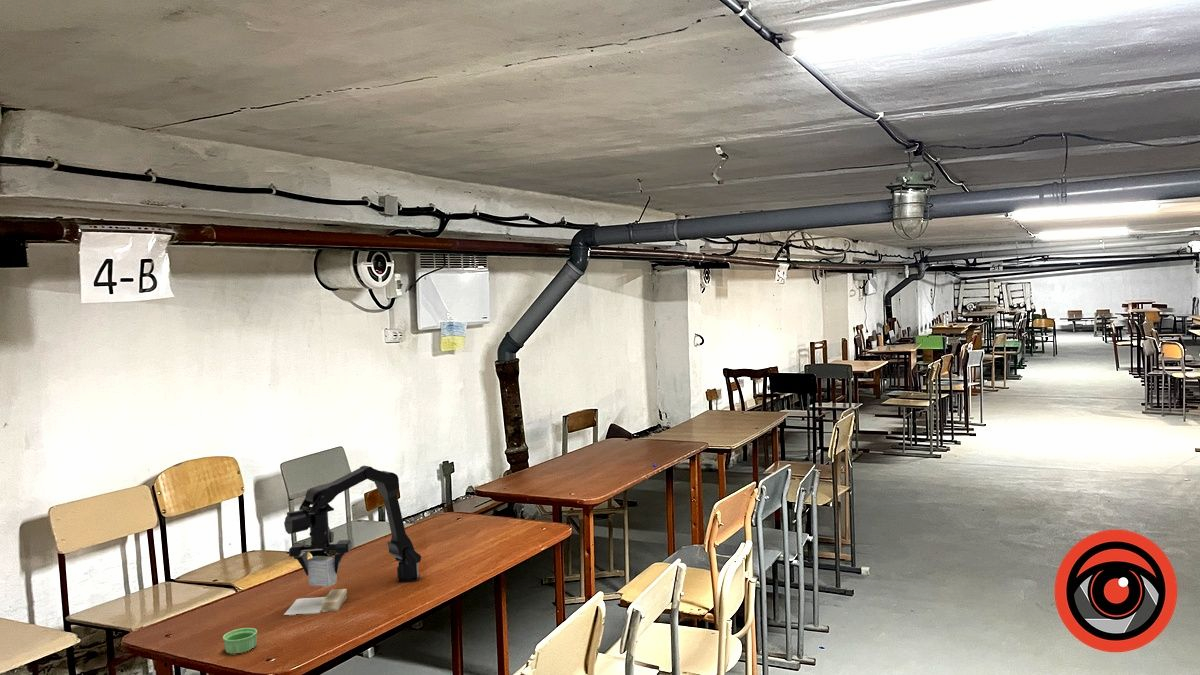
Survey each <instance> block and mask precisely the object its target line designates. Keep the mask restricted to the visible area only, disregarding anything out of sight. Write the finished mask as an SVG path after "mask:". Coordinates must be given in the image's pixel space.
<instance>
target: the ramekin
mask: <svg viewBox="0 0 1200 675" xmlns="http://www.w3.org/2000/svg"><path fill="white" fill-rule="evenodd" d="M257 635H258V630H257V628H254V627H242V628H237V629H233V630H231V631H230V630H229V631H228V632H226V633H225V634H224V635H223V636H222V640H223V643H224V644H223V645H224V649H225V650H224V651H225V652H226V653H227V654H228V653H231V654H230V655H233V654H232V653H241V652H245V651H248V650H250V649H252V648H254V647H255V646H257ZM255 648H256V647H255ZM255 648H254V649H255ZM252 650H253V649H252ZM248 652H249V651H248ZM245 653H246V652H245ZM241 654H242V653H241Z"/></svg>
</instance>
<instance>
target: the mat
mask: <svg viewBox="0 0 1200 675" xmlns="http://www.w3.org/2000/svg"><path fill="white" fill-rule="evenodd" d="M325 597H326V596H319V597H307V598H296V599H295V601H294V602H293V604H291V606H290V607H289V608H288V609H287V610H286V612H284V613H283V616H284V615H289V616H297V615H296V614H303V615H312V614H313V615H314V614H320V613H321V612H322V601H323V600H324V599H325Z"/></svg>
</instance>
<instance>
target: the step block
mask: <svg viewBox="0 0 1200 675" xmlns="http://www.w3.org/2000/svg"><path fill="white" fill-rule="evenodd" d="M347 590H348V589H347V588H335V589H330V590H329V592H328V593H327V595H326V596H324V597H325V599H324V600H323V601H322V611H321V612H322V613H325V612H326V613H327V612H328V611H329V612H338V611H339V610H340V608H341V607H342V606H343V605H344V602H346V600H347V598H348V592H347Z"/></svg>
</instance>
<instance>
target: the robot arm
mask: <svg viewBox="0 0 1200 675" xmlns="http://www.w3.org/2000/svg"><path fill="white" fill-rule="evenodd" d="M366 480H369V481H371V482H374V484H375V487H376V489H377V491H378V493H379V494H380V495H381V497H382V498H383V499H382V500H383V502H384V503H383V504H384V506H385V511H386V516H387V520H388V525H389V529H390V533H391V538H390V540H389V541H387V542H386V543H387V547H388V553H389V554H391V556H392V557H393V558H394V559H395V561H396V562H398V563H397V564H398V565H397V567H396V574H397V579H398V581H397V582H398V583H402V582H403V583H404V582H417V581H418V579H419V577H420V573H419V563H420V562H421V559H422V555H421V554H420V553H418V552H417V550H415V547H414V544H413V542H412V540H411V539H410V537H409V536H408V534H407V533H406V528H405V525H404V519H403V516H402V512H401V511H402V510H401V507H400V501H399V498H398V493H399V489H400V483H399V481H400V480H399V476H398V475H397V474H396V473H394V472H391V471H386V470H379V469H375V468H374V467H372V466H369V465H362V466H359V468H357V469H355V470H353V471H351V472H348V473H347V474H345V475H343V476H341V477H339V478H338V479H336V480H333V481H331V482H329V483H325V484H320V485H316V486H313V487H311V488H309V489H307V491H306V493H305V496H304V499H303V501H302V502H301V504H300V506H299V508H298V510H294V511H287V512H286V517H285V518H284V522H283V523H284V529H285V532H286V533H287V534H288V535H291V534H295V533H300V532H305V531H308V529H309V530H310V531H309V537H310V545H307V543H306V542H302V543H301V542H299V543H294V544H293V545H291V547H290V548H289V549H288V557H290V558H291V557H292V558H293V559H294V560H297V562H298V563H299V564H300V566H301V568H302V569H303V571H304V573H305V575H306V576H307V577H308V563H307V560H308V559H309V558H308V553H309V552H323V551H335V553H334V557H335V572H336V574H338V573H339V569H340V565H341V561H342V558H343V556H345V555H346V554H347V553H349V552H350V550H352V548H353V544H352V541H351V539H343V540H341V539H339V540H338V541H337V542H336V543H334V541H335V538H334V536H335V532H334V531H331V529H330V526H329V512H332V511H335V508H334V507H332V506H331V505H330V503H331V502H332V501H333V500H334V499H335V498H336V497H337V496H338V495H339V494H341V493H344V492H345V491H347V490H349V489H351V488H352V487H355V486H356V485H358V484H361V483H362V482H364V481H366Z"/></svg>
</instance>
